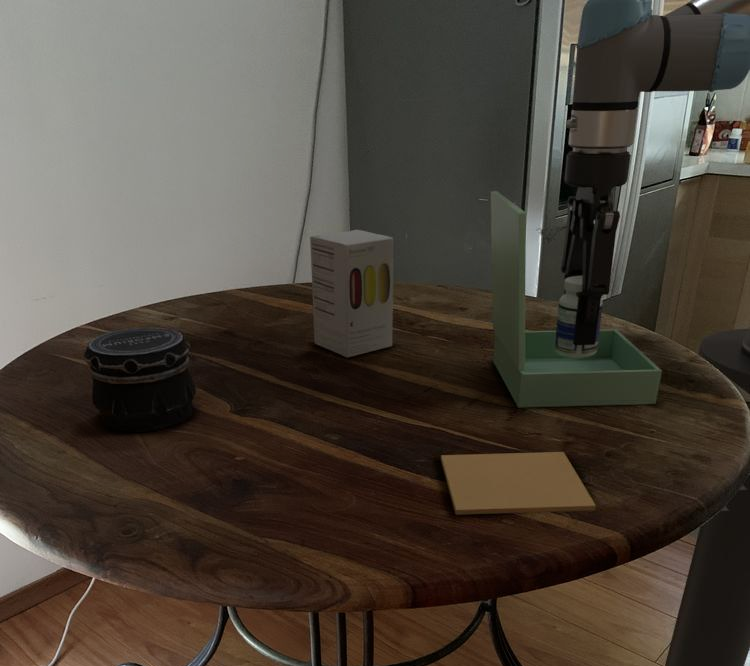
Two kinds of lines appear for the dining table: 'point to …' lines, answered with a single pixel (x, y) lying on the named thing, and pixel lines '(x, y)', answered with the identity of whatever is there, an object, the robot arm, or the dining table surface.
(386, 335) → the supplement box
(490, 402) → the dining table surface
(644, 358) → the chest
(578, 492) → the cork mat
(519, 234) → the chest lid
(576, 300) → the pill bottle
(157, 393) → the container
